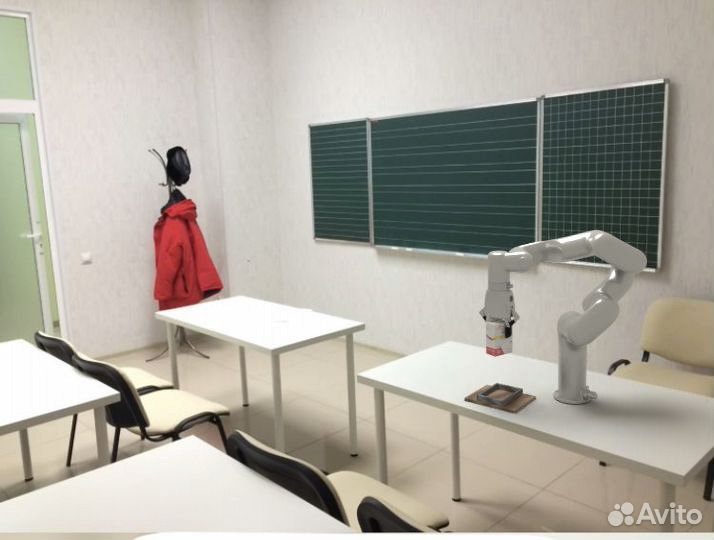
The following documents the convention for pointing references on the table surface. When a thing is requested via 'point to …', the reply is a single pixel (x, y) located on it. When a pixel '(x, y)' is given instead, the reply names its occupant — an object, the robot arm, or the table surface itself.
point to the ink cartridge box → (497, 337)
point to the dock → (501, 397)
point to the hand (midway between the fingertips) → (499, 335)
